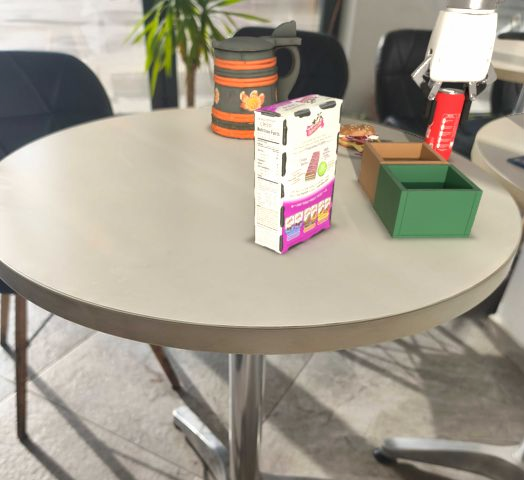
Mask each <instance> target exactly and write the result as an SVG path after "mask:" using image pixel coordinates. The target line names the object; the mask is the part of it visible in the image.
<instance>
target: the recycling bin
mask: <svg viewBox="0 0 524 480" xmlns="http://www.w3.org/2000/svg"><path fill="white" fill-rule="evenodd" d="M483 193H484V190H483V189H482V188H481V187H479V186H478V185H477V184H476V183H475V182H473V181H472V180H471V179H470V178H469V177H468V176H467V175H465V174H464V173H463V172H462V171H461V170H460V169H459V168H457V167H456V166H455V165H454V164H453V163H449V164H380V168H379V174H378V180H377V186H376V192H375V198H374V204H372V208H373V210H374V211H375V213H376V215H377V216H378V218H379V220H380V221H381V222H382V224H383V226H384V227H385V229H386V231H387V232H388V234H389V236H390V237H391V238H392V239H448V238H449V239H451V238H452V239H454V238H457V239H460V238H463V239H464V238H470V235H471V233H472V229H473V226H474V222H475V220H476V216H477V212H478V210H479V206H480V204H481V203H480V202H481V199H482V196H483Z"/></svg>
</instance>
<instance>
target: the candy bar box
mask: <svg viewBox="0 0 524 480" xmlns="http://www.w3.org/2000/svg"><path fill="white" fill-rule="evenodd" d="M343 103H344V100H343V99H341V98H337V97H331V96H327V95H321V94H312V93H311V94H308V95H304V96H300V97H296V98H293V99H289V100H288V101H285V102H281V103H277V104H274V105H270V106H266V107H263V108H259V109H255V110H254V139H253V149H254V150H253V166H254V167H253V171H254V172H253V173H254V179H253V180H254V181H253V182H254V184H253V186H254V187H253V190H254V191H253V192H254V193H253V196H254V203H253V205H254V208H253V209H254V212H253V214H254V244H255V245H257V246H259V247H261V248H265V249H267V250H270V251H272V252H274V253H277V254H279V255H283V254H285V253H288V252H289V251H290V250H293V249H294V248H296V247H298V246H299V245H301V244H303V243H305V242H306V241H308V240H310V239H312V238H314V237H316V236H317V235H319V234H321V233H323V232H324V231H326V230H328V229H330V228H331V223H332V214H333V213H332V211H333V203H334V193H335V181H336V171H337V163H338V153H339V151H338V150H339V132H340V127H341V122H342V121H341V120H342V111H343Z"/></svg>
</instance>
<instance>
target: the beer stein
mask: <svg viewBox="0 0 524 480" xmlns="http://www.w3.org/2000/svg"><path fill="white" fill-rule="evenodd" d="M302 40H303V39H302V37H299V36H297V22H296V20H294V19H291V20H290V21H284V22H282V23H280V24H278V25H277V26H276V28H275V29H274V30H273V32H272V33H271V35H261V36H257V37H256V36H231V37H227V38H224V39H222V40H211V47H212V48H213V56H214V62H213V64H214V65H213V78H212V79H213V81H214V88H213V89H214V90H213V105H212V106H211V125H210V129H211V131H212V132H213V133H214V134H216V135H219V136H221V137H224V138H227V139H235V140H236V139H237V140H254V110H255V109H259V108H263V107H266V106H270V105H274V104H277V103H281V102H285V101H288V100H290V99H289V95H290V94H291V92H292V90H293V88H294V86H295V85H296V82H297V80H298V77H299V75H300V71H301V54H300V50H299V47H298V46H301V45H302ZM282 49H286V50H287V51H288V52H289V53H290V55H291V58H292V60H291V61H292V62H291V63H292V64H291V66H290V68H289V69H290V70H289V71H288V73H286V74H285V75H284V76H279V74H278V69H279V68H278V66H277V65H278V64H277V57H278V56H276V53H277V51H278V50H282Z"/></svg>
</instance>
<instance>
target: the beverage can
mask: <svg viewBox="0 0 524 480" xmlns="http://www.w3.org/2000/svg"><path fill="white" fill-rule="evenodd" d="M464 93H465V91H463V89H459V88H452V87H440V89H439V91H438V93H437V95H436V98H435V100H436V101H437V105H436V109H435V114H434V118H433V123H432V124H431V125H427V127H426V131H425V136H424V141H423V142H426V143H427V144H428V145H429V146H431V147H432V148H433V149H434V150H435V151H436V152H437V153H439V154H440V155H441V156H442V157H443V158H444V159H445V160H447V161H448V160H449V159H450V157H451V154H452V151H453V147H454V142H455V138H456V134H457V131H458V127H459V124H458V123H459V119H460V115H461V111H462V107H463V103H464V100H465V96H464Z"/></svg>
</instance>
